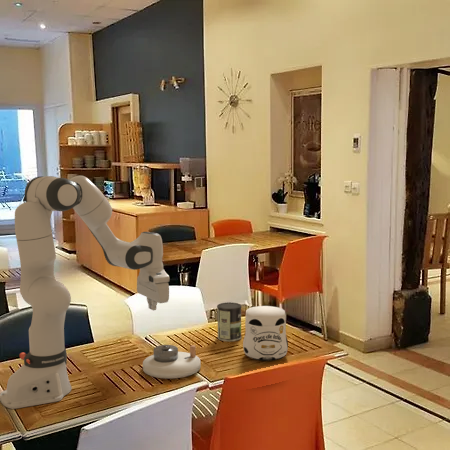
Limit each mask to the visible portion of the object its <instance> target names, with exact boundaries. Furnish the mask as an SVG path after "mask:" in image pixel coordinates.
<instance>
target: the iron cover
mask: <svg viewBox="0 0 450 450" xmlns="http://www.w3.org/2000/svg"><path fill="white" fill-rule="evenodd" d="M178 352H179V348H178V347H177V345H173V344H162V345H157V346H155V347H154V348H153V355H154V360H155V361H157V362H162V363H166V362H173V361H175V360H177V359H178Z"/></svg>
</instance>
